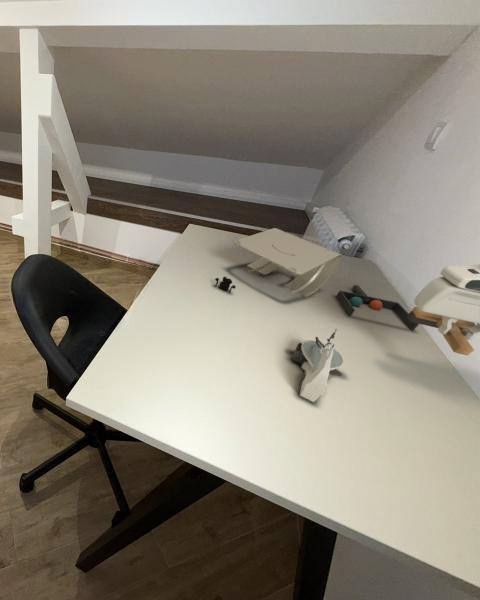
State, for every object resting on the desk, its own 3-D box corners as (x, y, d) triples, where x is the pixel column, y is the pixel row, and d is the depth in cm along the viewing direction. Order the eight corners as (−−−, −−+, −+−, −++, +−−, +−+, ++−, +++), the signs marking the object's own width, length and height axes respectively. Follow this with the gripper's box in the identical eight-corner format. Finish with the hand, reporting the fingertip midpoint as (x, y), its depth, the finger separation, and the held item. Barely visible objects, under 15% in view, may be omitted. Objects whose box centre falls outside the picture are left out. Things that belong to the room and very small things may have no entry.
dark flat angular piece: (411, 332, 94) (419, 324, 92) (347, 317, 98) (353, 309, 96) (379, 296, 112) (384, 288, 110) (326, 284, 116) (330, 277, 114)
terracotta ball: (377, 311, 103) (378, 301, 104) (384, 310, 100) (386, 300, 101) (365, 308, 104) (367, 299, 104) (372, 307, 101) (374, 298, 101)
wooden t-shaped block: (460, 327, 75) (471, 318, 73) (486, 364, 67) (500, 356, 65) (406, 314, 78) (415, 306, 76) (425, 349, 70) (436, 341, 68)
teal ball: (360, 297, 104) (366, 298, 101) (356, 306, 105) (362, 307, 101) (349, 295, 105) (354, 296, 102) (346, 304, 105) (351, 305, 102)
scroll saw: (365, 383, 59) (298, 353, 64) (335, 418, 65) (276, 388, 70) (366, 334, 72) (310, 313, 78) (341, 367, 78) (291, 345, 84)
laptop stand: (323, 294, 109) (348, 254, 101) (282, 307, 100) (305, 264, 91) (261, 262, 128) (277, 226, 119) (220, 270, 118) (235, 232, 110)
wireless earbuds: (211, 287, 107) (216, 274, 104) (215, 284, 109) (220, 272, 106) (231, 296, 103) (236, 283, 100) (234, 293, 105) (240, 280, 102)
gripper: (558, 288, 63) (500, 339, 70) (435, 265, 68) (394, 315, 75) (588, 304, 58) (522, 358, 65) (453, 278, 62) (407, 330, 70)
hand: (453, 335), depth 70 cm, fingers closed on wooden t-shaped block, 2 cm apart
